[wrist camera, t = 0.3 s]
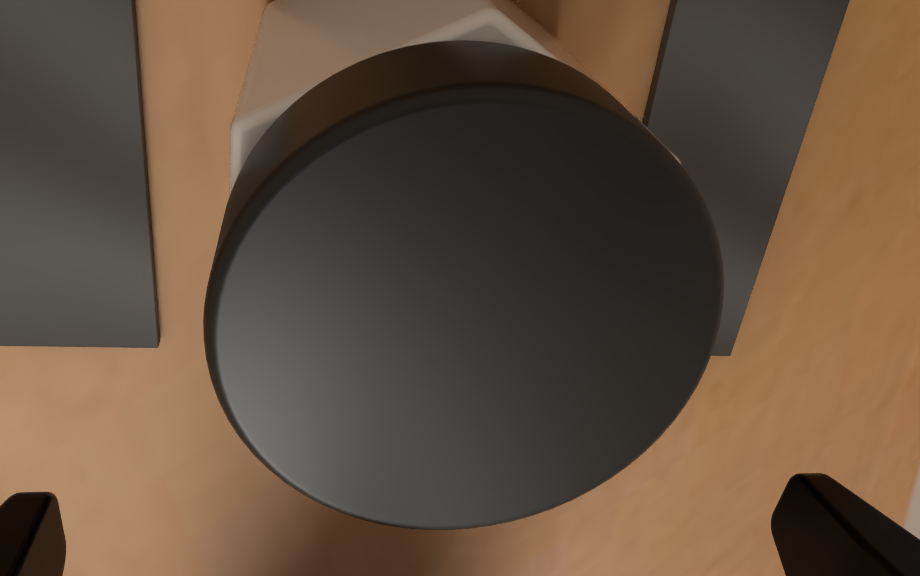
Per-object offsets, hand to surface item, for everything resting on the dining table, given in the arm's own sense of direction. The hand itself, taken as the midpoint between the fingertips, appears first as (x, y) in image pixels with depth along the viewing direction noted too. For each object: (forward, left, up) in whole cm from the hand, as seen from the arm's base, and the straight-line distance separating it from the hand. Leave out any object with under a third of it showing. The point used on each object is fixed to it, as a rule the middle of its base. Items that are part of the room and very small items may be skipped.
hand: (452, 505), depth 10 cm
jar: (0, -1, -15) cm, 15 cm away
